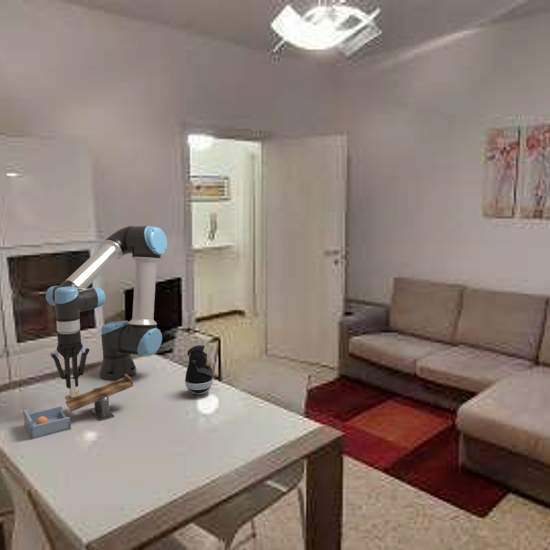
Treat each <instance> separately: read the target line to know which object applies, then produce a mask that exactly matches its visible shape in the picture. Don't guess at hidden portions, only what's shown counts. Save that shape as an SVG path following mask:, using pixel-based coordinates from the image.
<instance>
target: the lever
mask: <svg viewBox="0 0 550 550" xmlns="http://www.w3.org/2000/svg"><path fill="white" fill-rule="evenodd" d="M124 376H125V377H124V378H122V379H119V380H113V382H110V383H107V384H104V385H101V386H99V387H96V388H97V389H94V388H93V389H94V390H93V389H92V390H89V391H87V392H85V393H82V392H81V391H79V390H77V391H76V397H73V398H72V397H71V396H70V394H66V395H65V396H64V399H65V403H66V406H67V407H68V409H69V410H70V412H71V413H72V412H74V411H76V410H79V409H82V408H85V407H86V406H89V405H92V404H94V402H96V401H99V400H101V399H100V396H103V395H108V398H109V397H111V396H113V395H115V394H118V393H120V392H123V391H126V390H128V389H131V388H133V387H134V382H133V378H132V376H131V377H130V376H128V375H127V374H124Z"/></svg>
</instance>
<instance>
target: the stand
mask: <svg viewBox="0 0 550 550" xmlns="http://www.w3.org/2000/svg"><path fill="white" fill-rule="evenodd" d="M97 388H98V387H95V388H93V389H92V390H94V389H97ZM100 399H101V400H99V401H96V402H94V403H93V404H94V407H92V408H89V409H90V412H91V413H92V414H93V415H94V416H95V418H97V420H98V421H99V422H101V421H105V420H109V419H112V418H115V415H114V413H112V412H111V411H110V400H109V397H108V395H103V396H100Z"/></svg>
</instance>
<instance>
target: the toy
mask: <svg viewBox="0 0 550 550" xmlns="http://www.w3.org/2000/svg"><path fill="white" fill-rule="evenodd" d="M205 347H206V345H204V344H201V345H200V344H198V345H195V346H192V347H190V348H189V349H188V351H187V356H188V365H187V369H186V372H185V378H184V382H185V383H184V384H185V387H186V388H187V390H188V391H189V392H190V393H192V394H195V395H203V394H206V393H208V392H209V391H210V390H211V388H212V386H213V384H214V383H213V381H214V376H213V375H214V370H213V368H212V364H213V363H212V361H210V360H209V359H208V353H207V352H205V351H204V349H205Z"/></svg>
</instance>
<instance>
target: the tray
mask: <svg viewBox="0 0 550 550" xmlns="http://www.w3.org/2000/svg"><path fill="white" fill-rule="evenodd" d="M22 411H23V422H24V427H25V429H26V431H27V433H28V436H29V437H30V439H31V440H34V439H38V438H42V437H46V436H49V435H50V436H51V435H53V433H54V434H56V432H58V433H61V432H64V430H65V431H68V430H71V429H72V427H71V417H70V416H67V415H66V414H65V413H64V411H63V406H62V405H60V406H55V407H50V408H47V409H46V408H45V409H42V410H38V411H33V412H29V411H28V410H27V408H23V409H22ZM41 416H44V417H46V418H47V419H48V422H46V423H42V424H38V425H36V420H37V419H38V418H39V417H41ZM60 431H61V432H60Z"/></svg>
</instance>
